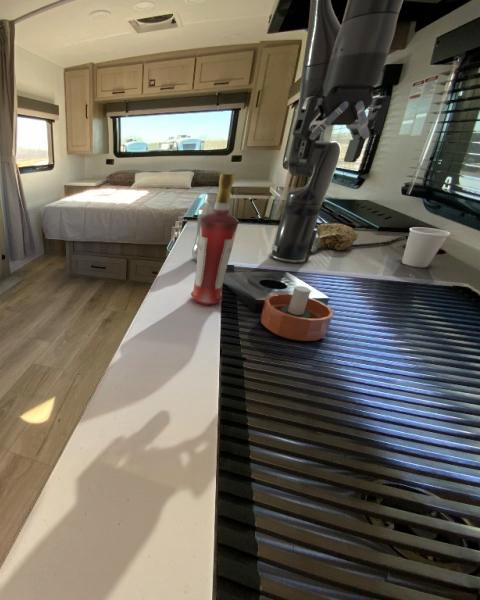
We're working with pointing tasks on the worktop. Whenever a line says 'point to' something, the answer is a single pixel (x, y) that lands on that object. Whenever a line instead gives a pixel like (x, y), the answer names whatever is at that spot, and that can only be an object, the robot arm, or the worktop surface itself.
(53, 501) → the worktop surface
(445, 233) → the dixie cup
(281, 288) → the sink plate
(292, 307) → the plug
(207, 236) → the liquor
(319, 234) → the sponge
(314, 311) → the bowl
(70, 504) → the worktop surface
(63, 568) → the worktop surface
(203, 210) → the plastic bottle
